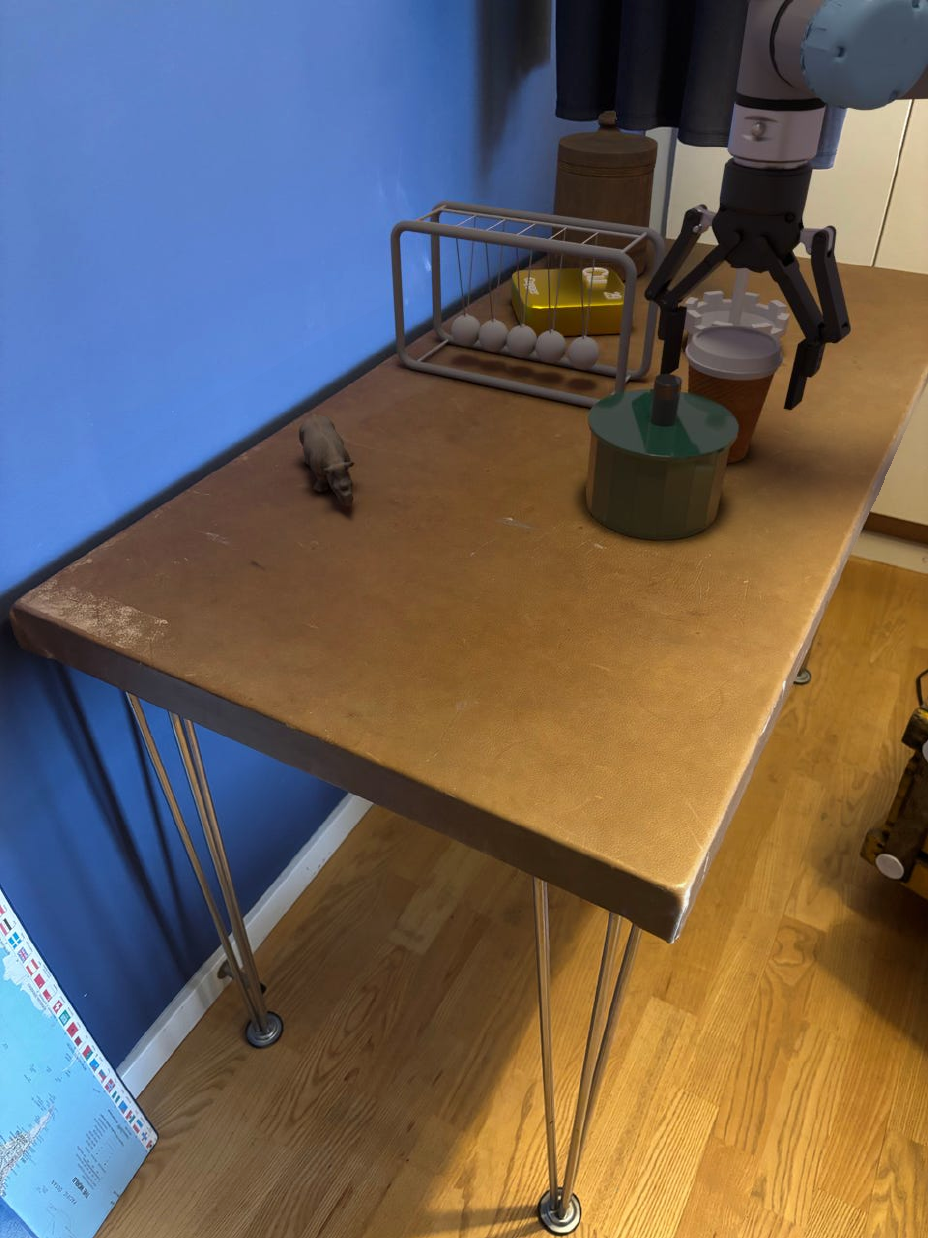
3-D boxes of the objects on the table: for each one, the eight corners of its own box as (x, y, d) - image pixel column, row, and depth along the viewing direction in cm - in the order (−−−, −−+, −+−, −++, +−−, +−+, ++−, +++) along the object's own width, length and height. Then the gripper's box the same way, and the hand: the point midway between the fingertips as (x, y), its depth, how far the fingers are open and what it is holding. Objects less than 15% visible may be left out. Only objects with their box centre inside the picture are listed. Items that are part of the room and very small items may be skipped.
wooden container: (655, 260, 147) (674, 106, 133) (626, 289, 137) (643, 125, 123) (569, 248, 152) (579, 99, 138) (535, 275, 142) (541, 116, 128)
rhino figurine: (329, 526, 87) (322, 471, 83) (297, 460, 97) (289, 408, 93) (371, 518, 88) (366, 462, 84) (334, 453, 98) (329, 401, 94)
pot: (738, 498, 90) (755, 419, 85) (677, 556, 82) (691, 473, 77) (628, 460, 96) (637, 384, 91) (561, 510, 89) (566, 431, 83)
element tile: (509, 299, 134) (509, 266, 131) (609, 295, 135) (612, 262, 132) (524, 339, 122) (525, 303, 119) (634, 333, 123) (638, 298, 120)
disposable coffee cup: (668, 466, 95) (684, 356, 88) (674, 425, 102) (689, 319, 95) (762, 476, 93) (787, 364, 86) (761, 433, 100) (784, 327, 93)
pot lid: (761, 425, 85) (772, 373, 82) (692, 483, 77) (702, 429, 74) (634, 387, 92) (640, 337, 89) (558, 437, 84) (562, 385, 80)
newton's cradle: (650, 381, 111) (669, 228, 100) (620, 415, 104) (637, 255, 93) (436, 338, 122) (432, 197, 111) (395, 367, 115) (387, 219, 104)
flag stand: (788, 371, 113) (851, 96, 94) (682, 367, 114) (722, 95, 96) (773, 331, 123) (826, 76, 104) (675, 328, 125) (711, 75, 106)
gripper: (624, 148, 84) (604, 369, 97) (900, 187, 71) (835, 434, 84) (664, 135, 88) (640, 348, 101) (930, 170, 76) (863, 406, 89)
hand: (728, 387), depth 93 cm, fingers open, 13 cm apart
